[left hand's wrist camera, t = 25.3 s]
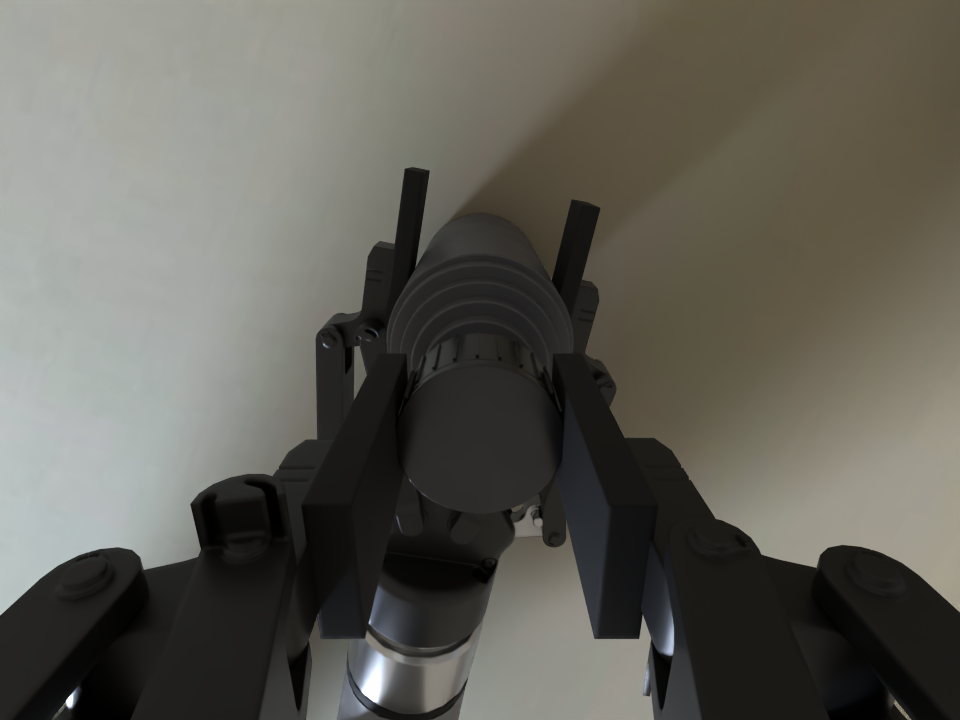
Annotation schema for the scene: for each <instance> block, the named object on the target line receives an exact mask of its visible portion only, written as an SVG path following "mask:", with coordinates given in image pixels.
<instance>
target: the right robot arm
mask: <svg viewBox="0 0 960 720" xmlns="http://www.w3.org/2000/svg"><path fill="white" fill-rule="evenodd" d="M429 172H430V171H429V170H424V169H419V168H414V167H411V168H406V169H405V172H404V179H403V187H402V195H401V202H400V210H399V217H398V225H397V232H396V240H395V244H392V243H387V242H382V241H379V242H378V243H377V244H376V245H375V246H374V247H373V249H372V250H371V252H370V254H369V256H368V261H367V271H366V279H365V287H364V295H363V304H362V310H361V311H360V312H357V313H352V314H344V313H337V314H335V315H334V316H333V317H332V318H331V319H330V320H329V321H328V322H327V323H326V324H325V325H324V326H323V328H322V329H321V330H320V331H319V332H318V334H317V336H316V385H317V440H334V439H335V437H336V435H337V433H338V431H339V429H340V427H341V425H342V423H343V421H344V420H345V418H346V416H347V414H348V412H349V410H350V408H351V406H352V404H353V402H354V346H360V349H361V353H362V357H363V361H364V365H365V369H366V373H367V374H368V372H369V370H370V368H371V366H372V365H373V363H374V361H375V359H376V357H377V355H378V353H387V329H388V324H389V319H390V316H391V314H392V311H393V308H394V306H395V304H396V302H397V300H398V298H399V296H400V295H401V293H402V291H403V289H404V288H405V286H406V284H407V282H408V281H409V279H410V277H411V275H412V274H413V272H414V270H415V266H416V260H417V253H418V246H419V239H420V233H421V226H422V219H423V212H424V206H425V199H426V192H427V185H428V179H429ZM599 212H600V208H599V207H597V206H594V205H592V204H590V203H588V202H583V201H578V200H573V199H572V200H571V204H570V208H569V213H568V217H567V221H566V225H565V229H564V233H563V237H562V241H561V245H560V249H559V253H558V258H557V262H556V266H555V270H554V274H553V278H552V282H553V284H554V286H555V288H556V290H557V291H558V293H559V295H560V297H561V298H562V300H563V302H564V304H565V306H566V308H567V311H568V313H569V316H570V320H571V324H572V328H573V353H582V355H583V357H584V359H585V361H586V363H587V365H588V367H589V369H590V371H591V373H592V375H593V377H594V379H595V381H596V383H597V385H598V387H599V389H600V391H601V393H602V395H603V397H604V399H605V401H606V403H607V405H608V407H610V405H611V402H612V400H613V398H614V395H615V393H616V385H615V383H614V381H613V379H612V378H611V376H610V374H609V373H608V371H607V369H606V367H605V366H604V364H603V363H602V362H601V361H599V360H597V359H592V358H590V357H589V356H587V355H586V354H585V349H586V346H587V342H588V339H589V335H590V331H591V328H592V324H593V321H594V317H595V313H596V310H597V306H598V303H599V295H598V289H597V288H596V286H595V285H594V284H593V283H592V282H589V281H584V280H582V276H583V272H584V268H585V264H586V261H587V257H588V253H589V249H590V246H591V242H592V238H593V234H594V230H595V227H596V223H597V219H598V215H599ZM533 536H543V541H544V543H545V544H546V545H547V546H549V547H559V546H561V545H562V544H563V543H564V542H565V540H566V516H565V512H564V507H563V503H562V499H561V495H560V491H559V486H558V482H557V478H556V474H555V475H554V476H553V478H552V479H551V480H550V482H549V483H548V484H547V485H546V486H545V487H544V488H543V489H542V490H541V491H540V492H539V493H538V494H537V495H535V496H534V497H533V498H531V499H529V500H528V501H526V502H525V503H524V506H523V507H522V508H521V509H520V510H519V511H516V512H512V510H511V508H510V509H507V510H504V511H499V512H494V513H483V514H481V513H467V512H460V511H456V510H452V509H449V508H447V507H444V506H442V505H440V504H438V503H436V502H434V501H432V500H431V499H429V498H428V497H426V496H425V495H423V494H422V493H421V492H420V491H419V490H418V489H417V488H416V487H415V486H414V485H413V484H412V483H411V482H410V480H409V479H408V478H407V476H406V475H405V473H404V476H403V481H402V485H401V489H400V493H399V498H398V502H397V506H396V510H395V514H394V519H393V523H392V527H391V531H390V536H389V540H388V544H387V548H386V553H385V557H384V561H383V565H382V570H381V574H380V578H379V582H378V586H377V591H376V595H375V599H374V603H373V608H372V612H371V616H370V620H369V625H368V629H367V633H366V637H365V639H349V648H348V654H347V667H346V673H345V678H344V684H343V690H342V695H341V701H340V706H339V711H338V716H337V720H458V718H459V713H460V708H461V704H462V699H463V695H464V690H465V686H466V683H467V680H468V676H469V672H470V669H471V666H472V662H473V658H474V655H475V651H476V647H477V644H478V640H479V636H480V632H481V629H482V622H483V617H484V615H485V612H486V608H487V604H488V600H489V596H490V592H491V588H492V585H493V581H494V577H495V573H496V569H497V565H498V561H499V558H500V556H501V554H502V553H503V551H504V550H505V549H506V548H508V547H509V546H510V545H511V543H512V542H513V540H514V538H515V537H533Z"/></svg>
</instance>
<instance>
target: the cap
mask: <svg viewBox="0 0 960 720" xmlns="http://www.w3.org/2000/svg"><path fill="white" fill-rule="evenodd" d="M561 414H562V410H561V407H560V403H559V400H558V397H557V394H556V391H555V388H554V385H553V383H551V379H550V376H549V373H548V370H547V367H546V366H543V365H542V364H541V362H540V361H539V360H538V358H537V357H536V355H535V353H534V352H530V351H529V350H528V349H527V348H525V347H524V346H522V345H521V344H519V341H517V340H516V341H513V340H511V339H508V338H506V337H502V336H500V334H496V335H493V334H485V333H479V332H476V333H475V334H466V335H462V336H459V335H456V336H455V338H452V339H449V340H447V341H445V342H443V343H441V344H440V343H438V344H437V346H436V347H435V348H433V349H432V350H431V351H430V352H429V353H427V354H426V355H423V356H422V358H421V361H420V362H419V364H418V365H417V367H416V368H415V370H412V371H411V373H410V377H409V380H408V383H407V386H406V389H405V392H404V395H403V401H402V405H401V408H400V411H399V414H398V421H397V424H396V443H397V456H398V460H399V463H400V465H401V467H402V469H403V471H404V473H405V475H406V476H407V478H408V479H409V480H410V482H411V483H412V484H413V485H414V486H415V487H416V488H417V489H418V490H419V491H420V492H421V493H422V494H423V495H425V496H426V497H428V498H429V499H431V500H432V501H434V502H436V503H438V504H440V505H442V506H444V507H447V508H449V509H452V510H456V511H460V512H467V513H481V514H483V513H494V512H499V511H504V510H507V509H510V508H514V507H516V506H518V505H520V504H523V503H524V502H526V501H528V500H529V499H531V498H533V497H534V496H535V495H537V494H538V493H539V492H540V491H541V490H542V489H543V488H544V487H545V486H546V485H547V484H548V483H549V482H550V480H551V479H552V478H553V476H554V475H555V473H556V471H557V469H558V467H559V465H560V463H561V460H562V453H563V438H564V424H563V420H562V417H561Z"/></svg>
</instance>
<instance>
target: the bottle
mask: <svg viewBox="0 0 960 720" xmlns="http://www.w3.org/2000/svg"><path fill="white" fill-rule="evenodd" d="M476 332H479V333H485V334H493V335H496V334H500V336H502V337H506V338H508V339H511V340H513V341H516V340H517V341H519V344H521V345H522V346H524V347H525V348H527V349H528V350H529V351H530V352H534V353H535V355H536V357H537V358H538V360H539V361H540V362H541V364H542V365H543V366H546V367H547V370H548V373H549V376H550V379H551V383H552V364H553V353H573V328H572V324H571V320H570V316H569V313H568V311H567V308H566V306H565V304H564V302H563V300H562V298H561V297H560V295H559V293H558V291H557V290H556V288H555V286H554V284H553V282H552V281H551V279H550V277H549V275H548V274H547V272H546V270H545V268H544V267H543V265H542V263H541V261H540V259H539V258H538V256H537V254H536V252H535V251H534V249H533V247H532V245H531V244H530V242H529V240H528V239H527V237H526V236H525V235H524V233H523V232H522V231H521V230H520V229H519V228H518V227H516V226H515V225H514V224H512V223H511V222H509V221H507V220H506V219H503V218H501V217H498V216H494V215H490V214H470V215H466V216H462V217H459V218H457V219H455V220H453V221H451V222H449V223H448V224H446V225H445V226H444V227H443V228H441V229H440V230H439V231H438V233H437V234H436V235H435V236H434V237H433V239H432V240H431V242H430V244H429V245H428V247H427V249H426V251H425V252H424V254H423V256H422V258H421V259H420V261H419V263H418V265H417V267H416V268H415V270H414V272H413V274H412V275H411V277H410V279H409V281H408V282H407V284H406V286H405V288H404V289H403V291H402V293H401V295H400V296H399V298H398V300H397V302H396V304H395V306H394V308H393V311H392V314H391V316H390V319H389V324H388V329H387V353H407V370H408V380H409V377H410V373H411V371H412V370H415V368H416V367H417V365H418V364H419V362H420V361H421V358H422V356H423V355H426V354H427V353H429V352H430V351H431V350H432V349H433V348H435V347H436V346H437V344H438V343H440V344H441V343H443V342H445V341H447V340H449V339H452V338H455V336H456V335H459V336H462V335H466V334H475V333H476Z"/></svg>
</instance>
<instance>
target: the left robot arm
mask: <svg viewBox="0 0 960 720" xmlns="http://www.w3.org/2000/svg"><path fill="white" fill-rule="evenodd" d="M407 383H408V370H407V353H378V355H377V357H376V359H375V361H374V363H373V365H372V366H371V368H370V370H369V372H368V374H367V376H366V378H365V380H364V382H363V384H362V386H361V388H360V390H359V392H358V394H357V396H356V398H355V400H354V402H353V404H352V406H351V408H350V410H349V412H348V414H347V416H346V418H345V420H344V421H343V423H342V425H341V427H340V429H339V431H338V433H337V435H336V437H335V439H334V440H305V441H303V442H302V443H301V444H299V445H298V446H296V447H295V448H294V449H292V450H291V451H289V452H288V454H287V455H286V457H285V458H284V460H283V461H282V463H281V465H280V466H279V470H277V471H276V472H275V474H274V475H273V476H269V475H266V474H246V475H241V476H236V477H231V478H228V479H225V480H223V481H220V482H218V483H215V484H213V485H211V486H210V487H208V488H207V489H205V490H204V491H202V492H201V493H199V494H198V496H197V497H196V498H195V499H194V500H193V502H192V503H191V509H192V513H193V517H194V521H195V526H196V530H197V534H198V538H199V543H200V547H201V551H200V554H199V556H198V557H197V558H193V559H190V560H186V561H183V562H179V563H174V564H170V565H165V566H160V567H156V568H151V569H147V570H143V566H142V563H141V559H140V557H139V556H138V555H137V554H136V553H135V552H134V551H132V550H129V549H123V548H107V549H99V550H96V551H91V552H89V553H85V554H82V555H79V556H77V557H75V558H73V559H71V560H69V561H67V562H65V563H63V564H61V565H59V566H57V567H56V568H54V569H53V570H52V571H50V572H49V573H48V574H46V575H45V576H44V577H42V578H41V579H40V580H39V581H38V582H36V583H35V584H34V585H33V586H32V587H31V588H30V589H29V590H28V591H27V592H26V593H24V594H23V595H22V596H21V597H20V598H19V599H18V600H17V601H16V602H15V603H14V604H12V605H11V606H10V607H9V608H8V609H7V610H6V611H5V612H4V613H3V614H2V615H0V720H51V719H52V718H53V717H54V715H55V714H56V713H57V712H58V710H59V709H60V708H61V707H62V705H63V704H64V703H65V702H66V705H67V706H66V707H65V709H64V710H63V711H62V713H61V714H60V715H59V716H58V717H57V718H56V719H55V720H306V714H307V705H308V696H309V686H310V677H311V667H312V658H311V651H310V644H309V637H310V634H311V632H312V629H313V626H314V623H315V620H316V617H317V618H318V625H319V632H320V638H321V639H365V637H366V633H367V629H368V625H369V620H370V616H371V612H372V608H373V603H374V599H375V595H376V591H377V586H378V582H379V578H380V574H381V570H382V565H383V561H384V557H385V553H386V548H387V544H388V540H389V536H390V531H391V527H392V523H393V519H394V514H395V510H396V506H397V502H398V498H399V493H400V489H401V485H402V481H403V476H404V471H403V469H402V467H401V465H400V463H399V460H398V456H397V443H396V424H397V421H398V414H399V411H400V408H401V405H402V401H403V395H404V392H405V389H406V386H407ZM552 383H553V385H554V388H555V391H556V394H557V397H558V400H559V403H560V407H561V410H562V414H561V417H562V420H563V424H564V438H563V453H562V460H561V463H560V465H559V467H558V469H557V471H556V473H555V474H556V478H557V482H558V486H559V491H560V495H561V499H562V503H563V507H564V512H565V516H566V520H567V524H568V529H569V533H570V537H571V541H572V546H573V550H574V554H575V558H576V563H577V567H578V571H579V575H580V579H581V584H582V588H583V592H584V596H585V601H586V605H587V609H588V613H589V618H590V622H591V626H592V630H593V635H594V639H639V636H640V629H641V622H642V615H643V616H644V619H645V621H646V624H647V627H648V630H649V633H650V636H651V644H650V651H649V657H648V663H647V670H646V676H645V683H644V690H643V695H645V696H650V692H651V694H652V704H653V713H654V720H907V719H906V718H905V717H904V716H903V715H902V714H901V712H900V711H899V710H898V709H897V707H896V706H895V705H894V701H895V700H896V701H897V702H898V703H899V705H900V706H901V707H902V708H903V709H904V711H905V712H906V713H907V714H908V716H909V717H910V718H911V719H912V720H960V612H959V611H958V610H956V609H955V608H954V607H953V606H952V605H951V604H950V603H949V602H948V601H947V600H945V599H944V598H943V597H942V596H941V595H940V594H939V593H938V592H937V591H936V590H934V589H933V588H932V587H931V586H930V585H929V584H928V583H927V582H926V581H925V580H923V579H922V578H921V577H920V576H919V575H918V574H916V573H915V572H914V571H912V570H911V569H909V568H908V567H907V566H905V565H904V564H903V563H901V562H899V561H897V560H895V559H893V558H891V557H888V556H886V555H884V554H882V553H880V552H877V551H874V550H870V549H866V548H863V547H857V546H847V545H840V546H835V547H830V548H827V549H826V550H825V551H824V552H823V553H822V554H821V555H820V558H819V561H818V565H817V568H815V567H810V566H805V565H801V564H796V563H792V562H787V561H782V560H778V559H774V558H771V557H767V556H764V555H761V553H760V551H759V549H758V547H757V546H756V544H755V543H754V541H753V540H752V539H751V537H749V536H748V535H747V534H745V533H744V532H743V531H741V530H740V529H739V528H737V527H735V526H733V525H731V524H728V523H726V522H724V521H722V520H718V519H715V517H714V515H713V514H712V512H711V511H710V509H709V508H708V506H707V505H706V503H705V502H704V500H703V498H702V497H701V495H700V494H699V492H698V491H697V489H696V488H695V486H694V485H693V483H692V481H691V480H689V477H688V475H687V474H686V472H685V471H684V469H683V468H681V464H680V463H679V461H678V460H677V458H676V457H675V455H674V454H673V452H672V450H670V449H669V448H667V447H666V446H664V445H663V444H662V443H660V442H659V441H657V440H656V439H655V438H624V436H623V434H622V432H621V430H620V428H619V426H618V424H617V422H616V420H615V418H614V416H613V414H612V412H611V410H610V408H609V407H608V405H607V403H606V401H605V399H604V397H603V395H602V393H601V391H600V389H599V387H598V385H597V383H596V381H595V379H594V377H593V375H592V373H591V371H590V369H589V367H588V365H587V363H586V361H585V359H584V357H583V355H582V353H553V364H552Z"/></svg>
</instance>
